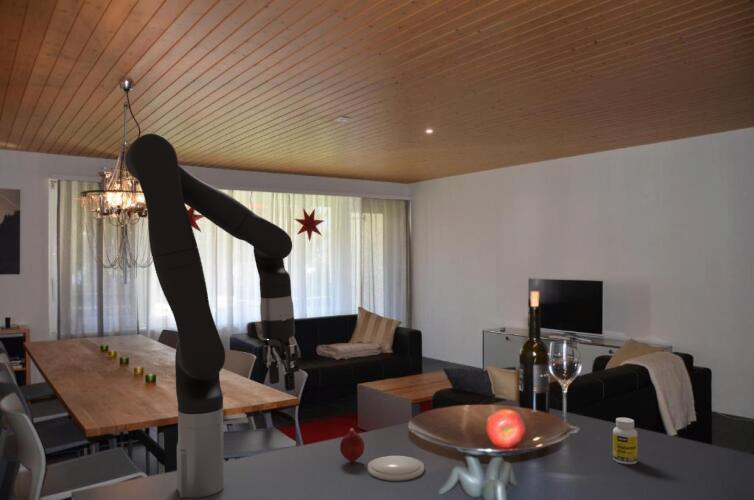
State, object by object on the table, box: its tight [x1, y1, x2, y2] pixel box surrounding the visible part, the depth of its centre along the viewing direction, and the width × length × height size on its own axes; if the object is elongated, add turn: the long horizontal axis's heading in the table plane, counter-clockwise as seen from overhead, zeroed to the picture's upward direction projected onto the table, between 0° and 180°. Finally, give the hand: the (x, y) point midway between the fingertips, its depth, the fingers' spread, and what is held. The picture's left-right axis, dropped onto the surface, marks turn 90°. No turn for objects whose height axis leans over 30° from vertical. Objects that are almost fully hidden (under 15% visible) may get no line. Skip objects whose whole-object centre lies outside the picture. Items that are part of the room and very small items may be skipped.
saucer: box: [367, 455, 425, 482], centre depth 135 cm, size 13×13×1 cm
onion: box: [339, 427, 365, 463], centre depth 140 cm, size 6×6×8 cm
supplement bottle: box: [612, 417, 639, 465], centre depth 139 cm, size 5×5×10 cm
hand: (282, 386), depth 134 cm, fingers open, 8 cm apart
